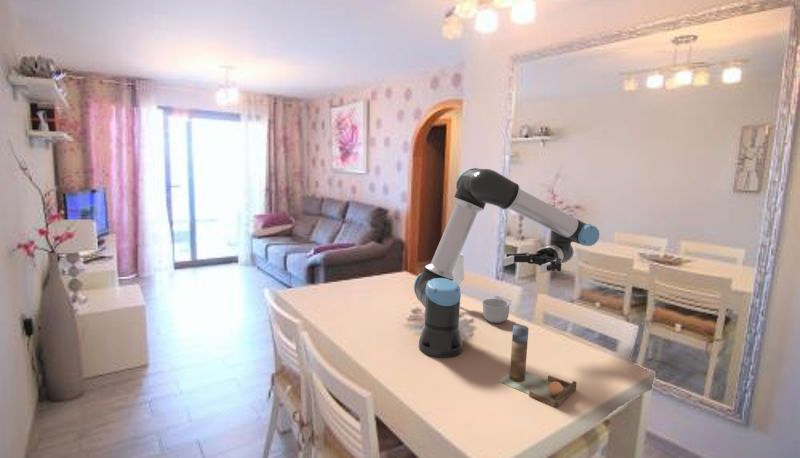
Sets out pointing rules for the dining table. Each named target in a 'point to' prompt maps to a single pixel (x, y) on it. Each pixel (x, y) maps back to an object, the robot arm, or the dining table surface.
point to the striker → (519, 353)
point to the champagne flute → (459, 271)
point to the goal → (541, 388)
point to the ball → (555, 388)
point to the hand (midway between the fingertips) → (521, 265)
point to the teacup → (495, 310)
